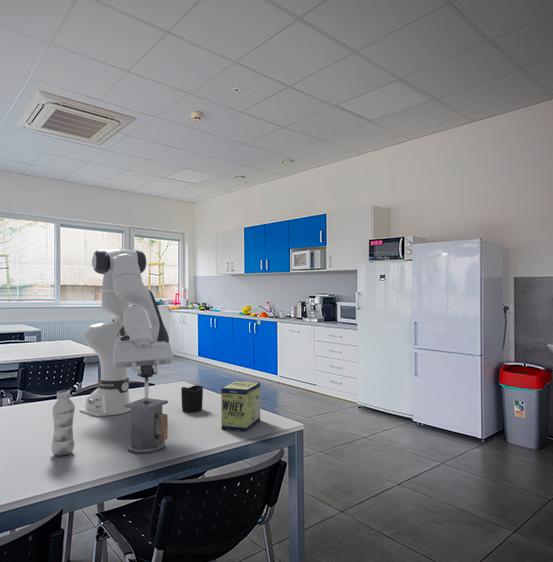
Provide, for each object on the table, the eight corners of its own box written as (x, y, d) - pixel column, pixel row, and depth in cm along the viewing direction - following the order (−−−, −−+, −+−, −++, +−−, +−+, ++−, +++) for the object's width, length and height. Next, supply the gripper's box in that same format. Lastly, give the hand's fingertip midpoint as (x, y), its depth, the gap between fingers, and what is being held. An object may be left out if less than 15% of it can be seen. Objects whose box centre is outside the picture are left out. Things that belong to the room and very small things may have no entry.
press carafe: (119, 450, 141) (119, 405, 141) (144, 439, 152) (144, 397, 152) (153, 456, 135) (153, 409, 136) (176, 444, 146) (176, 400, 147)
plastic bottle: (56, 451, 141) (56, 389, 141) (77, 450, 142) (78, 389, 142) (47, 458, 134) (48, 394, 135) (69, 457, 135) (70, 393, 136)
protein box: (220, 429, 162) (220, 388, 163) (237, 418, 177) (237, 380, 178) (246, 432, 159) (246, 390, 160) (260, 420, 174) (260, 381, 174)
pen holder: (185, 407, 195) (185, 385, 195) (205, 408, 193) (205, 385, 193) (177, 412, 185) (177, 389, 186) (198, 413, 184) (198, 390, 184)
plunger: (129, 423, 142) (129, 367, 143) (145, 416, 149) (145, 363, 150) (147, 425, 139) (148, 368, 140) (162, 419, 146) (162, 364, 147)
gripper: (167, 346, 160) (175, 377, 151) (109, 350, 149) (114, 383, 140) (171, 335, 156) (179, 365, 147) (111, 338, 146) (117, 371, 137)
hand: (147, 374), depth 144 cm, fingers closed on plunger, 4 cm apart
